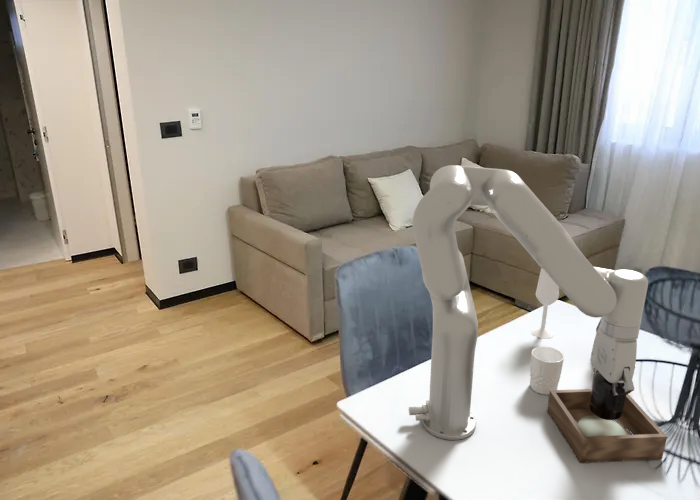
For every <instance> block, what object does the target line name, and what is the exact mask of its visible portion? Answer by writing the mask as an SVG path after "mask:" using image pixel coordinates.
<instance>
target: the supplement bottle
mask: <svg viewBox="0 0 700 500" xmlns="http://www.w3.org/2000/svg"><path fill="white" fill-rule="evenodd" d="M593 376H594V377H593V378H592V382H593V383H592V384H591V389H592V390H591V397H590V405H589V408H590V411H591V412H592V413H593V414H594V415H595V416H597V417H599V418H601V419H605V420H616V419H618V418H620V417H621V415H622V411H623V409H613V410H610V409H609V408H608V403H609V398H610V393H612V392H613V390H612V383H610V382H608V381H607V380H606V379H605V378H604V377H603V376H602V375H601V373H600V372H599V371H598V372H597V373H596V374H595V375H594V374H593ZM619 380H622V377H620V379H619ZM617 388H618V389H619V388H622V383H617Z"/></svg>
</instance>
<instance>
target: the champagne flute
mask: <svg viewBox="0 0 700 500" xmlns="http://www.w3.org/2000/svg"><path fill="white" fill-rule="evenodd" d="M559 292H560V288H559V287H558V285H557V284H556V283H555V282H554V281H553V279H552V278H551V277H550V276H549V275H548V274H547V273H546V272H545V271H544V270H543V269H542V268H541V267H540V271H539V276H538V280H537V286H536V290H535V297H536V299H537V301H538V302H540V303H541V304H542V305H543V309H542V315H541V316H542V317H541V325H540V327H536V328H532V330H531V331H530V333H531V334H532V335H533V336H534V337H536V338H540V339H551V338H553V337H554V332H552V331H551V330H550V329H548V328H546V324H547V321H546V320H547V315H548V314H547V313H548V306H551V305H552V304H554V303H556V301H558V299H559V296H560V293H559Z"/></svg>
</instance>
